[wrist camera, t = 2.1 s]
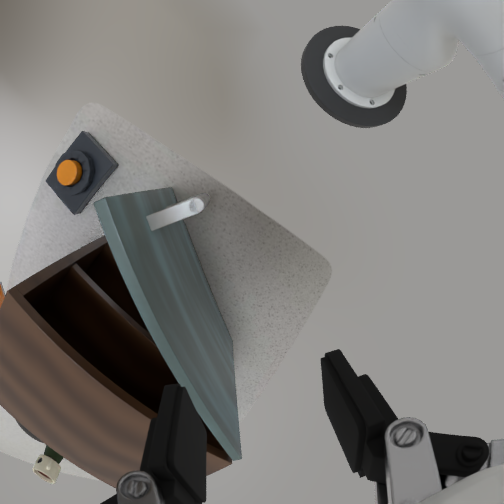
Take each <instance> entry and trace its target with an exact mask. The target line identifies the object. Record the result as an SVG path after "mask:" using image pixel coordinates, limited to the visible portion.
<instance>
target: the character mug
mask: <svg viewBox="0 0 504 504" xmlns="http://www.w3.org/2000/svg"><path fill="white" fill-rule="evenodd" d="M62 459H63V456H61V455H60V454H58V453H57V452H56V451H54V450H53V449H52V448H50V447H49V446H48V445H46V448H45V452H44V455H39V457H38V459H37V461H36V463H35V465H34V467H33V471H34V473H35V474H36V475H37V476H39V477H40V478H41V479H43V480H44V481H46V482H49V483H51V484H55V482H56V479H57V477H58V475H59V472H60V470H61V467H60V465H59V463H60V462H61V460H62Z"/></svg>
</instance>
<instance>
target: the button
mask: <svg viewBox="0 0 504 504" xmlns="http://www.w3.org/2000/svg"><path fill="white" fill-rule="evenodd" d="M81 175H82V167H81V165H80V163H79V162H77V161H75V160H65V161H63V162H62V163H61V164H60V165H59V167H58V169H57V179H58V181H59V182H60V183H61V184H62V185H74V184H76V183H77V182H78V181H79V180H80V178H81Z"/></svg>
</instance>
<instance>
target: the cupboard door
mask: <svg viewBox="0 0 504 504" xmlns="http://www.w3.org/2000/svg"><path fill="white" fill-rule="evenodd" d="M209 201H210V196H209V194H207V193H201V194H199V195H196V196H193V197H190V198H188V199H185V200H182V201H180V202H177V201H176V198H175V195H174V192H173V190H172V187H169V188H162V189H155V190H148V191H141V192H135V193H129V194H122V195H117V196H111V197H105V198H103V199H101V200H99V201H97V202H95V203H94V206H95V209H96V212H97V215H98V218H99V220H100V223H101V226H102V228H103V231H104V234H105V236H106V239H107V241H108V244H109V246H110V249H111V251H112V254H113V256H114V259H115V261H116V263H117V266H118V268H119V270H120V273H121V275H122V277H123V279H124V282H125V284H126V286H127V288H128V290H129V292H130V294H131V297H132V299H133V301H134V303H135V305H136V307H137V309H138V311H139V313H140V315H141V317H142V319H143V321H144V323H145V325H146V327H147V329H148V330H149V332H150V334H151V336H152V338H153V340H154V342H155V343H156V345H157V347H158V349H159V351H160V352H161V354H162V356H163V358H164V359H165V361H166V363H167V365H168V366H169V368H170V370H171V371H172V373H173V375H174V376H175V378H176V380H177V381H178V383H179V384H180V385H181V387H186V389H187V391H188V394H189V396H190V398H191V400H192V402H193V404H194V406H195V409H196V411H197V412H198V414H199V415H200V417H201V418H202V420H203V421H204V422H205V424H206V425H207V427H208V428H209V429H210V431H211V432H212V434H213V435H214V436H215V438H216V439H217V440H218V442H219V443H220V444H221V446H222V447H223V448H224V450H225V451H226V452H227V454H228V455H229V456H230V457H231V459H232V460H233V461H234V460H239V459H242V454H241V443H240V432H239V421H238V409H237V397H236V384H235V371H234V357H233V343H232V339H231V337H230V335H229V332H228V330H227V328H226V325H225V323H224V321H223V318H222V316H221V314H220V311H219V309H218V306H217V304H216V302H215V299H214V297H213V294H212V292H211V290H210V287H209V285H208V282H207V280H206V277H205V275H204V272H203V270H202V267H201V265H200V262H199V260H198V257H197V254H196V252H195V249H194V247H193V244H192V241H191V239H190V236H189V234H188V231H187V228H186V225H185V223H184V220H183V219H185V218H188V217H191V216H193V215H196V214H199V213H201V212H202V211H203V210H204V208H205V207H206V206H207V204H208V203H209Z"/></svg>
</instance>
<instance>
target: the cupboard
mask: <svg viewBox="0 0 504 504" xmlns="http://www.w3.org/2000/svg"><path fill="white" fill-rule="evenodd" d="M171 384H179V383H178V381H177V380H176V378H175V376H174V375H173V373H172V371H171V370H170V368H169V366H168V365H167V363H166V361H165V359H164V358H163V356H162V354H161V352H160V351H159V349H158V347H157V345H156V343H155V342H154V340H153V338H152V336H151V334H150V332H149V330H148V329H147V327H146V325H145V323H144V321H143V319H142V317H141V315H140V313H139V311H138V309H137V307H136V305H135V303H134V301H133V299H132V297H131V294H130V292H129V290H128V288H127V286H126V284H125V282H124V279H123V277H122V275H121V273H120V270H119V268H118V266H117V263H116V261H115V259H114V256H113V254H112V251H111V249H110V246H109V244H108V241H107V239H106V236H103V237H101V238H99V239H97V240H95V241H93V242H91V243H89V244H87V245H85V246H84V247H82V248H80V249H78V250H76V251H74V252H73V253H71V254H69V255H67V256H65V257H63V258H62V259H60V260H58V261H56V262H55V263H53V264H51V265H49V266H48V267H46V268H44V269H43V270H41V271H39V272H37V273H36V274H34V275H32V276H31V277H29V278H27V279H26V280H24V281H23V282H21V283H19V284H18V285H16V286H15V287H13V288H11V289H10V290H8V291H7V293H6V296H5V298H4V300H3V303H2V305H1V308H0V405H1V406H2V407H3V408H4V409H5V410H6V411H7V412H8V413H9V414H10V415H12V416H13V417H14V418H15V419H16V420H17V421H18V422H19V423H20V424H22V425H23V426H24V427H25V428H26V429H27V430H29V431H30V432H31V433H32V434H33V435H35V436H36V437H37V438H38V439H40V440H41V441H42V442H44V443H45V444H46V445H48V446H49V447H50V448H52V449H53V450H54V451H56V452H57V453H58V454H60V455H61V456H63V457H64V458H66V459H67V460H69V461H70V462H72V463H73V464H75V465H76V466H78V467H79V468H81V469H83V470H84V471H86V472H87V473H89V474H91V475H93V476H94V477H96V478H98V479H99V480H101V481H103V482H105V483H107V484H109V485H110V486H113V487H114V488H116V486H117V482H118V480H119V479H120V478H121V477H122V476H123V475H124V474H126V473H127V472H130V471H136V470H139V471H140V466H141V461H142V456H143V452H144V447H145V443H146V439H147V434H148V430H149V426H150V422H151V419H152V418H157V415H158V411H159V407H160V402H161V398H162V394H163V389H164V386H165V385H171ZM197 413H198V412H197ZM198 415H199V414H198ZM199 417H200V415H199ZM200 419H201V421H202V423H203V425H204V427H205V429H206V433H207V456H206V476H207V475H210V474H212V473H214V472H216V471H218V470H220V469H223V468H225V467H227V466H228V465H231V464H232V459H231V457H230V456H229V455H228V454H227V452H226V451H225V450H224V448H223V447H222V446H221V444H220V443H219V442H218V440H217V439H216V438H215V436H214V435H213V434H212V432H211V431H210V429H209V428H208V427H207V425H206V424H205V422H204V421H203V420H202V418H201V417H200Z"/></svg>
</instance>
